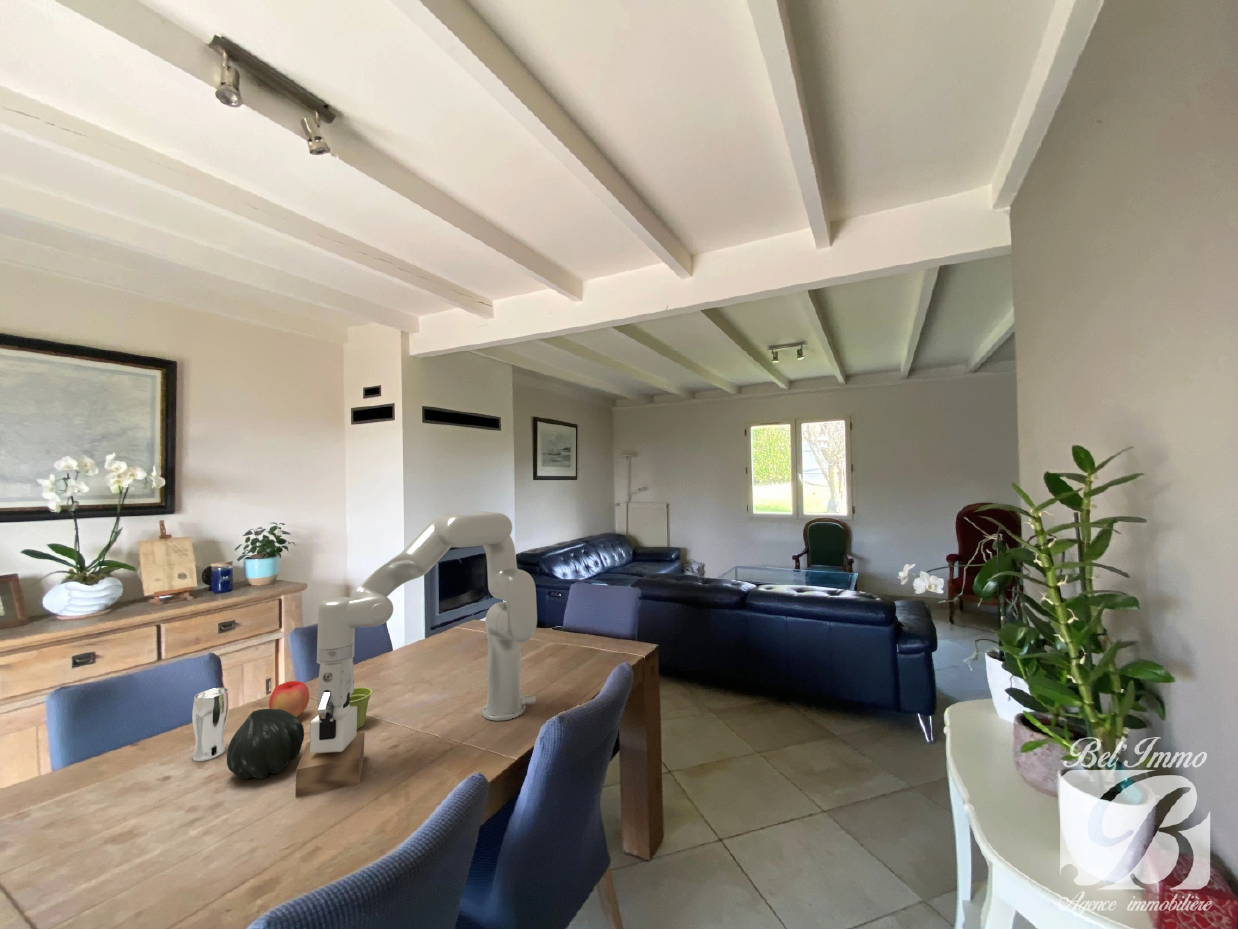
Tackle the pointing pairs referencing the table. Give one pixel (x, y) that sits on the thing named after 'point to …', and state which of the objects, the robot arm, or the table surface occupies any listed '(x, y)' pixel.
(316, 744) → the medicine bottle
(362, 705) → the plant pot
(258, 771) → the squash
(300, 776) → the walnut block
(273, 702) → the apple
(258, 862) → the table surface
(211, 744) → the silver metal vase
